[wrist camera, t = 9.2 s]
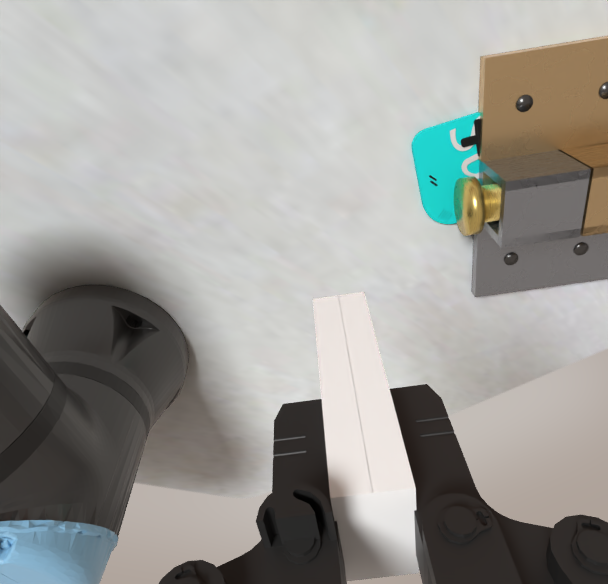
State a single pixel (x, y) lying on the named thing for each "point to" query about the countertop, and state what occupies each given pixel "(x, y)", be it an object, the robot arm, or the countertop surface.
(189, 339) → the countertop surface
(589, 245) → the sliding bolt latch
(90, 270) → the countertop surface
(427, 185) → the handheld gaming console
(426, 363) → the countertop surface
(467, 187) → the pin
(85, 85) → the countertop surface
